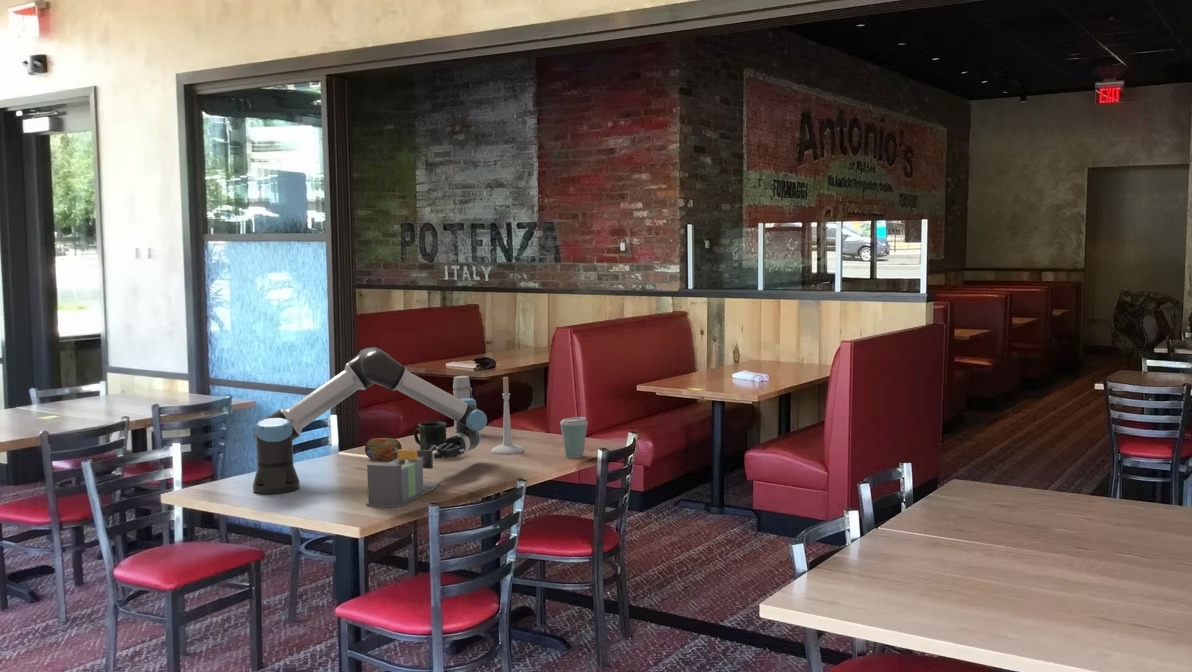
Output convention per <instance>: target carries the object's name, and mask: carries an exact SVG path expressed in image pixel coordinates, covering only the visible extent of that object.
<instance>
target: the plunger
mask: <svg viewBox="0 0 1192 672" xmlns="http://www.w3.org/2000/svg"><path fill="white" fill-rule="evenodd" d="M407 450H414V448H410V447H409V448H407ZM416 450H417V456H418V459H417V460H422V462H423V469H430V470H431V469H433V468H434V461H433V455H432V450H420V449H416ZM410 461H413V460H406V461H405V463H403V464H401V465H404V464H406V463H408V462H410Z"/></svg>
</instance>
